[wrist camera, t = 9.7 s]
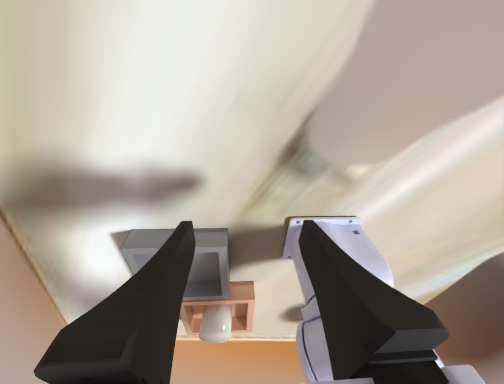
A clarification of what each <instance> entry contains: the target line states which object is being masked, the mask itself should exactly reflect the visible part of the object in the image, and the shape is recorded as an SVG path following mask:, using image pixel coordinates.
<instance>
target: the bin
mask: <svg viewBox="0 0 504 384" xmlns="http://www.w3.org/2000/svg"><path fill="white" fill-rule="evenodd" d="M174 230H175V229H144V230H132V231H131V232H130V234H129V235H128V237H127V239H126V240H125V242H124V243H123V245H122V247H121V248H120V249H121V251H122V253H123V255H124V257H125V259H126V261H127V263H128V265H129V267H130V269H131V271H132V273H133V275H134V274H136V273H137V272H138V271H139V270H140V269H141V268H142V267H143V266H144V265H145V264H146V263H147V262H148V261H149V260H150V259H151V258H152V257H153V255H154V254H155V253H156V252H157V251H158V250H159V249H160V248H161V247H162V245H163V244H164V243H165V242H166V241H167V239H168V238H169V237H170V236H171V234H172V233H173V232H174ZM193 230H194V236H195V241H196V246H195V252H194V259H193V262H192V266H191V270H190V273H189V277H188V281H187V284H186V288H185V291H184V295H183V300H182V301H191V300H215V299H229V283H230V279H229V252H228V228H218V229H193Z"/></svg>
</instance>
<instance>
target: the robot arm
mask: <svg viewBox="0 0 504 384" xmlns="http://www.w3.org/2000/svg"><path fill="white" fill-rule="evenodd" d="M296 221H298V222H296ZM360 222H361V219H360V218H359V217H300V218H291V219H290V221H289V226H288V231H287V236H286V241H285V245H284V250H283V255H282V256H283V259H293V262H294V265H295V269H296V272H297V276H298V280H299V283H300V287H301V290H302V294H303V297H304V301H305V305H306V307H304V308H302V309H301V313H302V316H303V320H302V321H300V322H299V324H298V327H297V335H296V346H297V353H298V358H299V361H300V364H301V368H302V371H303V373H304V376H305V378H306V380H307V382H308V383H295V384H485V382H484V381H483V380H482V379H481V377H480V376H479V375H478V373H477V372H476V371H475V369H474V368H473V367H472V366H471V365H457V366H447V367H444V365H443V363H442V362H441V360H440V359H439V357H438V355H437V354H436V352H435V351H434V349H433V348H435V347H436V346H438V345H439V344H441V343H442V342H444V341H445V340H446V339H448V337H449V334H450V333H449V331H448V330H447V328H446V327H445V326H444V324H443V323H442V322H441V321H440V319H439V318H438V317H437V315H436V314H435V313H434V312H433V311H432V310H431V309H429V308H427V307H425V306H424V305H422V304H420V303H418V302H416V301H414V300H413V299H411V298H409V297H407V296H406V295H404V294H402V293H401V292H399V291H397V290H396V289H394V281H393V276H392V273H391V270H390V267H389V265H388V263H387V261H386V260H385V258H384V257H383V256H382V254H381V253H380V252H379V250H378V249H377V248H376V246H375V245H374V244H373V242H372V241H371V240H370V238H369V237H368V236H367V234H366V233H365V232H364V230H363V229H362V228H361V226H360V225H359V224H360ZM195 246H196V241H195V236H194V230H193V224H192V221H182V222H181V223H180V224H179V225H178V227H177V228H176V229H175V230H174V232H173V233H172V234H171V236H170V237H169V238H168V239H167V241H166V242H165V243H164V244H163V245H162V247H161V248H160V249H159V250H158V251H157V252H156V253H155V254H154V255H153V257H152V258H151V259H150V260H149V261H148V262H147V263H146V264H145V265H144V266H143V267H142V268H141V269H140V270H139V271H138V272H137V273H136V274H134V275H133V276H132V277H131V278H130V279H129V280H128V281H127V282H125V283H124V284H123V285H122V286H121V287H120V288H118V289H117V290H116V291H115V292H113V293H112V294H111V295H109V296H108V297H107V298H106V299H104V300H103V301H102V302H100V303H99V304H98V305H96V306H95V307H94V308H92V309H91V310H89V311H88V312H87V313H85V314H84V315H82V316H81V317H79V318H78V319H76V320H75V321H73V322H72V323H70V324H69V325H67V326H66V327H64V328H63V329H61V330H60V332H59V333H58V335H57V336H56V337H55V339H54V340H53V342H52V343H51V345H50V346H49V348H48V349H47V351H46V353H45V354H44V356H43V357H42V359H41V360H40V362H39V363H38V365H37V367H36V368H35V369H34V373H35V376H36V377H38V378H39V379H41V380H43V381H45V382H47V383H49V384H169V383H170V375H171V368H172V361H173V353H174V346H175V340H176V334H177V328H178V322H179V316H180V310H181V305H182V300H183V295H184V291H185V288H186V284H187V281H188V277H189V273H190V270H191V266H192V262H193V259H194V252H195Z"/></svg>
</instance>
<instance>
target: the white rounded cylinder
mask: <svg viewBox="0 0 504 384" xmlns="http://www.w3.org/2000/svg"><path fill="white" fill-rule="evenodd" d="M232 305H233V304H214V305H204V310H203V315H202V321H201V327H200V332H199V338H200V339H201V340H202V341H204V342H208V343H223V342H226V341H228V340H229V339H230V338H231V322H232Z"/></svg>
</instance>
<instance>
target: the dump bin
mask: <svg viewBox="0 0 504 384" xmlns="http://www.w3.org/2000/svg"><path fill="white" fill-rule="evenodd" d="M254 302H255V296H254V283H253V281H250V282H230V283H229V299H215V300H191V301H182V305H181V310H180V316H181V319H182V322H183V325H184V327H185V330H186V333H187V335H199V332H200V327H201V321H202V315H203V310H204V305H214V304H233V305H232V322H231V333H240V332H252V322H253V312H254Z"/></svg>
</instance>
